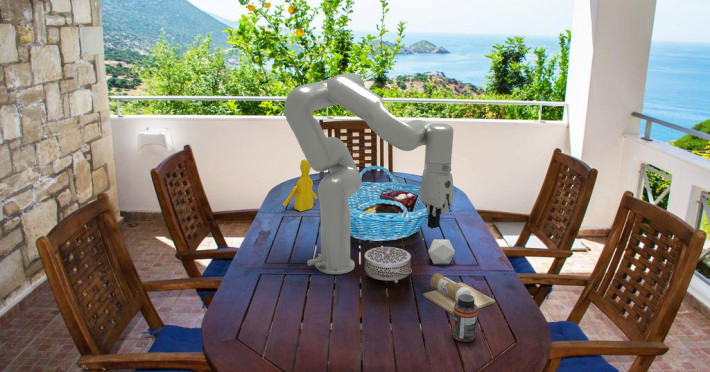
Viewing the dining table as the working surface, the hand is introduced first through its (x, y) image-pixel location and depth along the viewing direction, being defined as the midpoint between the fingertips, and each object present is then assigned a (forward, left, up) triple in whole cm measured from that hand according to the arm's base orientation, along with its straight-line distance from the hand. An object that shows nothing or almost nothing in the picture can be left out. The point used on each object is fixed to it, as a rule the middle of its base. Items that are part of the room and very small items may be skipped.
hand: (433, 226), depth 171 cm
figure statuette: (0, +84, -19) cm, 86 cm away
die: (+14, +12, -19) cm, 27 cm away
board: (+1, -11, -19) cm, 22 cm away
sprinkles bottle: (0, -2, -16) cm, 16 cm away
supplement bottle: (-12, -27, -19) cm, 35 cm away
